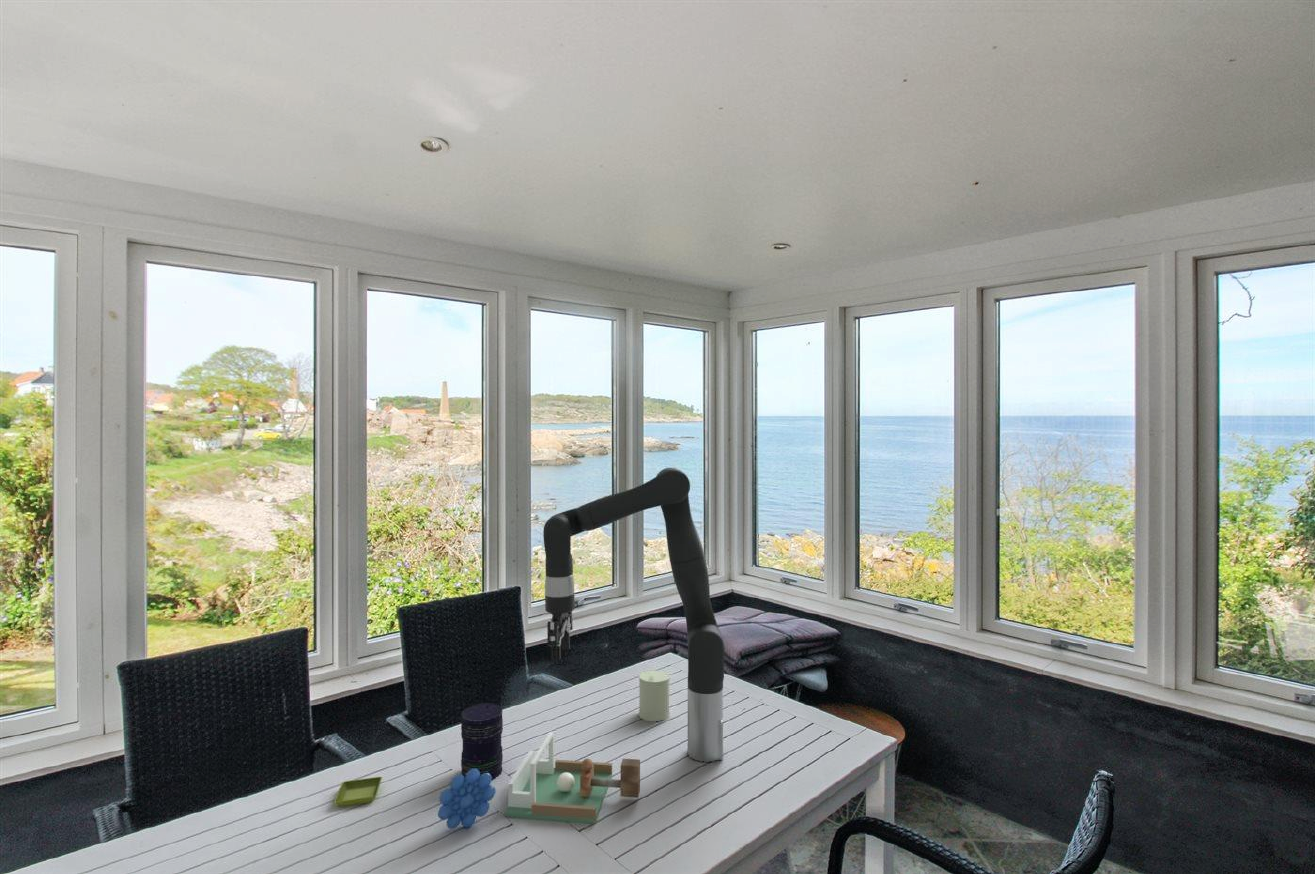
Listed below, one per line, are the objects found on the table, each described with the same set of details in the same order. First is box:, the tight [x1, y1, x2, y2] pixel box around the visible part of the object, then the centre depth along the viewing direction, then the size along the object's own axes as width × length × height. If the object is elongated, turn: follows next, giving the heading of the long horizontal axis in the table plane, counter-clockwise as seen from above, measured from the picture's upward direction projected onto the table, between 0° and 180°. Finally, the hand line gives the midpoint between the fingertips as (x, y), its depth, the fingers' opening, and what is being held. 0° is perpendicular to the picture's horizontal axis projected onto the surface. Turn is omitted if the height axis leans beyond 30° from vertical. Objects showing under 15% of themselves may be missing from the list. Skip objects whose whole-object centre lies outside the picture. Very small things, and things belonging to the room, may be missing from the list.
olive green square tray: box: [333, 776, 383, 807], centre depth 142 cm, size 9×9×2 cm
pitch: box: [504, 731, 613, 825], centre depth 143 cm, size 20×19×11 cm
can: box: [638, 670, 671, 723], centre depth 185 cm, size 9×9×12 cm
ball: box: [557, 772, 575, 792], centre depth 143 cm, size 4×4×4 cm
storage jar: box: [460, 702, 504, 781], centre depth 152 cm, size 10×10×15 cm
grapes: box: [437, 768, 496, 830], centre depth 132 cm, size 12×7×12 cm, turn 108°
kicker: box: [580, 758, 641, 799], centre depth 141 cm, size 13×5×7 cm, turn 83°
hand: (560, 654), depth 161 cm, fingers open, 8 cm apart
